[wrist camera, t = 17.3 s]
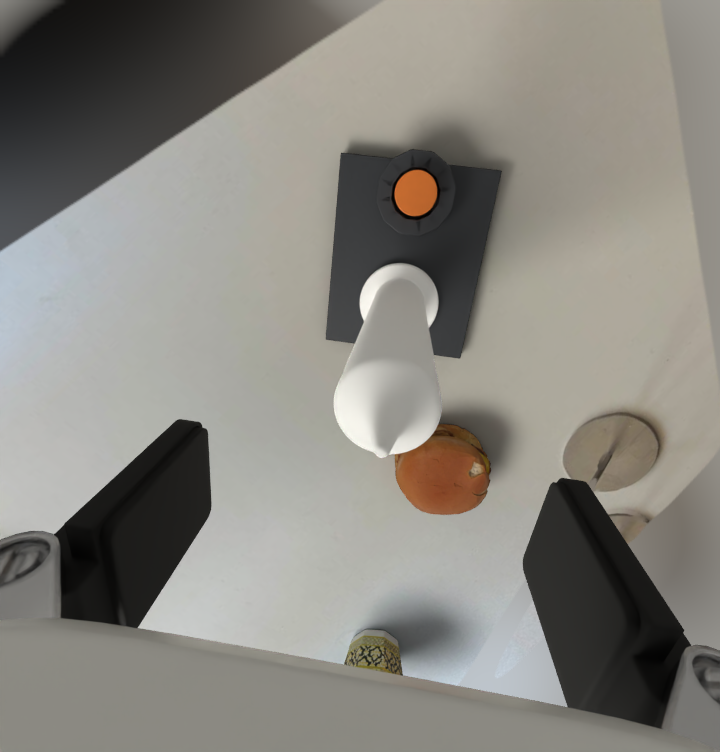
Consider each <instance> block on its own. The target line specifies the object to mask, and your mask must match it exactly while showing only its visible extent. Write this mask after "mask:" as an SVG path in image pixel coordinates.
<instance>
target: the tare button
mask: <svg viewBox="0 0 720 752" xmlns="http://www.w3.org/2000/svg"><path fill="white" fill-rule="evenodd" d="M436 198H437V185H436V182H435V180H434V178H433V177H432V176H431V175H430V174H429V173H427V172H425V171H423V170H412V171H409V172H407V173H405V174H404V175H403V176H402V177H401V178H400V179H399V181H398V183H397V185H396V188H395V201H396V203H397V206H398V207H399V209H400V210H401V211H402V212H404V213H405V214H407V215H410V216H420V215H423V214H425V213H426V212H428V211H429V210H430V209H431V208H432V207H433V205H434V203H435V201H436Z"/></svg>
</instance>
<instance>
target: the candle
mask: <svg viewBox="0 0 720 752" xmlns="http://www.w3.org/2000/svg"><path fill="white" fill-rule="evenodd" d="M438 303H439V300H438V293H437V290H436V287H435V285H434V283H433V281H432V280H431V278H430V277H429V276H428V275H427V274H426V273H425V272H424V271H423V270H421V269H420V268H418V267H416V266H413V265H410V264H406V263H394V264H389V265H386V266H383V267H381V268H380V269H378V270H377V271H375V272H374V273H373V274H372V275H371V276H370V277H369V278H368V280H367V281H366V283H365V284H364V286H363V288H362V291H361V295H360V311H361V315H362V318H363V320H364V323H363V325H362V328H361V330H360V333H359V335H358V337H357V340H356V342H355V345H354V347H353V349H352V352H351V354H350V356H349V359H348V361H347V364H346V366H345V368H344V371H343V373H342V376H341V378H340V380H339V383H338V385H337V388H336V391H335V395H334V412H335V416H336V420H337V422H338V424H339V426H340V428H341V430H342V431H343V432H344V434H345V435H346V436H347V437H348V438H349V439H350V440H351V441H352V442H354V443H355V444H356V445H358V446H360V447H361V448H363V449H366V450H368V451H371V452H374V453H375V454H376V455H377V456H378V457H380V458H385V457H387V456H388V455H389V454H400V453H404V452H408V451H410V450H413V449H415V448H417V447H419V446H420V445H422V444H423V443H424V442H425V441H427V440H428V439H429V438H430V437H431V435H432V434H433V433H434V431H435V430H436V428H437V426H438V423H439V421H440V417H441V413H442V399H441V393H440V388H439V382H438V376H437V371H436V365H435V360H434V354H433V349H432V343H431V338H430V332H429V327H430V326H431V324H432V323H433V321H434V319H435V317H436V314H437V311H438Z"/></svg>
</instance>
